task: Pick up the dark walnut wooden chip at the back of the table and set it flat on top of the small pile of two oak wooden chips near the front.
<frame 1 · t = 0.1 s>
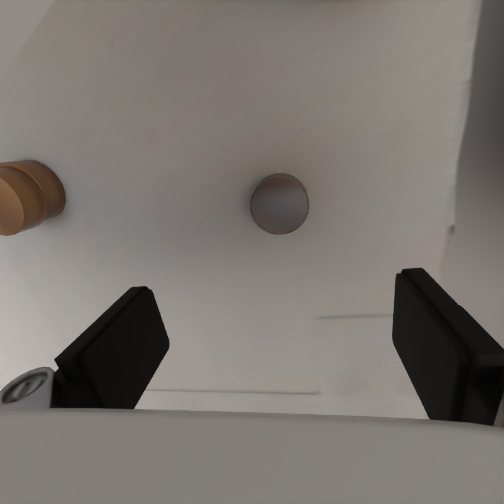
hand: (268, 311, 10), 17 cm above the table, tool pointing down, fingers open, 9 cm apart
pile chip bottom: (38, 189, 28), on the table, touching pile chip top
pile chip top: (18, 198, 26), point 2 cm above the table, touching pile chip bottom
walnut chip: (280, 200, 25), on the table
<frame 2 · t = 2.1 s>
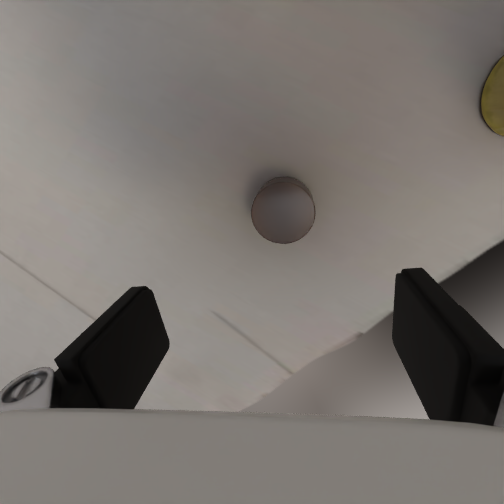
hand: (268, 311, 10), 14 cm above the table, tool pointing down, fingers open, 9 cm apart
walnut chip: (283, 206, 23), on the table
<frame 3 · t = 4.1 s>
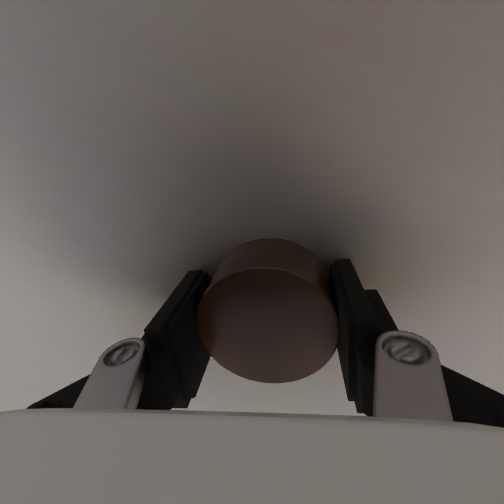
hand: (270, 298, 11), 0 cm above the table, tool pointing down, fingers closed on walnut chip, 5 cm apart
walnut chip: (270, 292, 11), on the table, touching gripper
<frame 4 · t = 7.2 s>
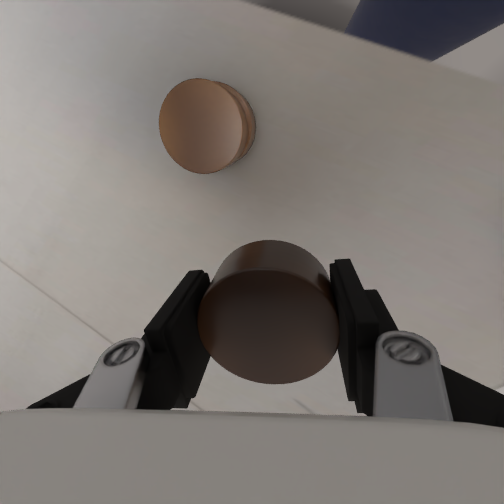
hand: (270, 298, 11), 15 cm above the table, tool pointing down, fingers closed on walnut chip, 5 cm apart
pile chip bottom: (221, 127, 23), on the table, touching pile chip top
pile chip top: (210, 129, 21), point 2 cm above the table, touching pile chip bottom
walnut chip: (271, 293, 11), point 15 cm above the table, touching gripper
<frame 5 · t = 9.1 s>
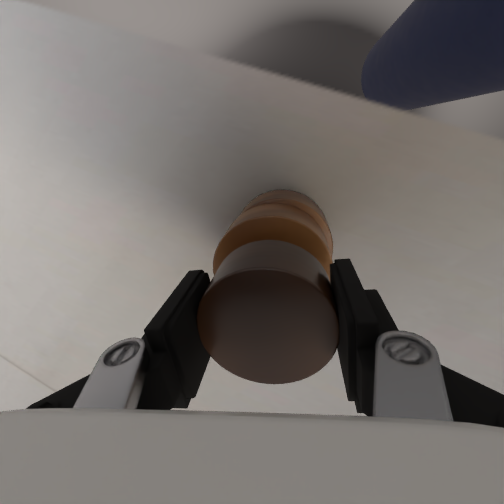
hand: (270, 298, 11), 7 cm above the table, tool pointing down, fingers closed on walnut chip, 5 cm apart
pile chip bottom: (281, 235, 18), on the table, touching pile chip top
pile chip top: (274, 253, 16), point 2 cm above the table, touching pile chip bottom
walnut chip: (271, 293, 11), point 7 cm above the table, touching gripper
when the fingers open (5 cm above the table, at t = 10.1 s): walnut chip stays where it is, resting on pile chip top.
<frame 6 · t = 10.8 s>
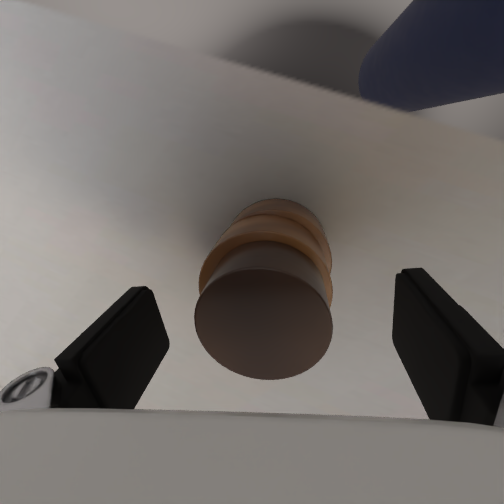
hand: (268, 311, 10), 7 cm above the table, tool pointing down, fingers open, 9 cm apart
pile chip bottom: (275, 247, 16), on the table, touching pile chip top
pile chip top: (267, 269, 14), point 2 cm above the table, touching pile chip bottom, walnut chip
walnut chip: (266, 292, 12), point 5 cm above the table, touching pile chip top
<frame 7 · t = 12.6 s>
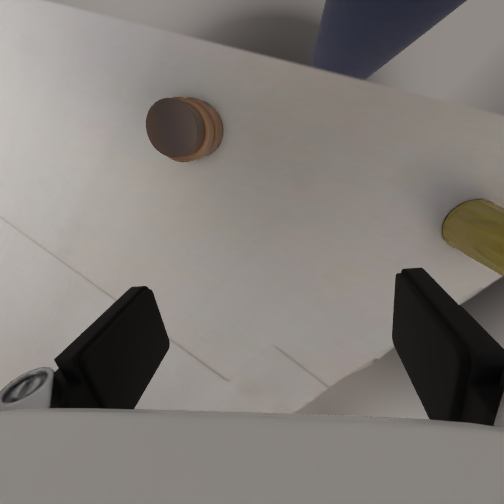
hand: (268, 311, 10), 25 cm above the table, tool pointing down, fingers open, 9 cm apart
pile chip bottom: (198, 129, 31), on the table, touching pile chip top
vase: (469, 224, 32), on the table
pile chip top: (188, 131, 29), point 2 cm above the table, touching pile chip bottom, walnut chip
walnut chip: (181, 129, 27), point 5 cm above the table, touching pile chip top
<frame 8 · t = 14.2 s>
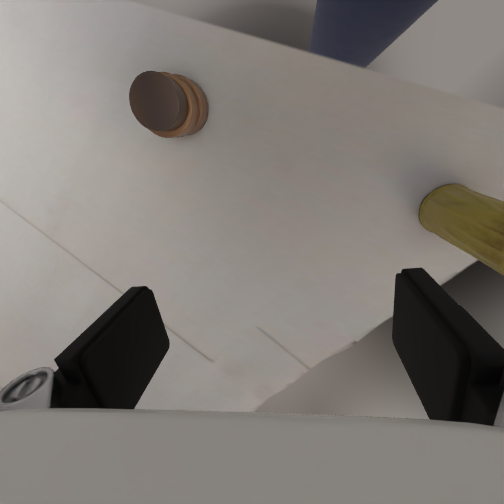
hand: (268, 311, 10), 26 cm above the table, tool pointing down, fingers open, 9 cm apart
pile chip bottom: (184, 107, 32), on the table, touching pile chip top
vase: (445, 208, 33), on the table
pile chip top: (173, 108, 30), point 2 cm above the table, touching pile chip bottom, walnut chip
walnut chip: (165, 104, 28), point 5 cm above the table, touching pile chip top
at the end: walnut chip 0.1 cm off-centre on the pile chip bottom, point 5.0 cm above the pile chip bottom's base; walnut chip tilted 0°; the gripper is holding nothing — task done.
